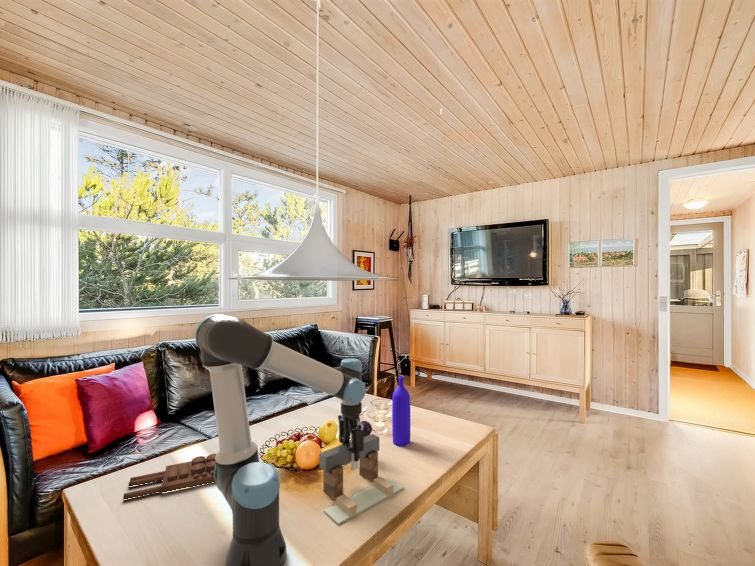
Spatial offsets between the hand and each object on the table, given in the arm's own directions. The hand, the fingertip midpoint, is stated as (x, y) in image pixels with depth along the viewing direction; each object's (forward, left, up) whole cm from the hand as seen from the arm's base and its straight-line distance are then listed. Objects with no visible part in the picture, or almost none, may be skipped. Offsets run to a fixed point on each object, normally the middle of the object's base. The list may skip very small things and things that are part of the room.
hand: (350, 466), depth 128 cm
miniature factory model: (-47, +45, -7) cm, 66 cm away
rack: (0, 0, -7) cm, 7 cm away
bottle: (+37, +11, -7) cm, 40 cm away
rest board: (-2, -11, -7) cm, 13 cm away
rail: (0, 0, +3) cm, 3 cm away
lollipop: (+16, +12, -7) cm, 22 cm away
